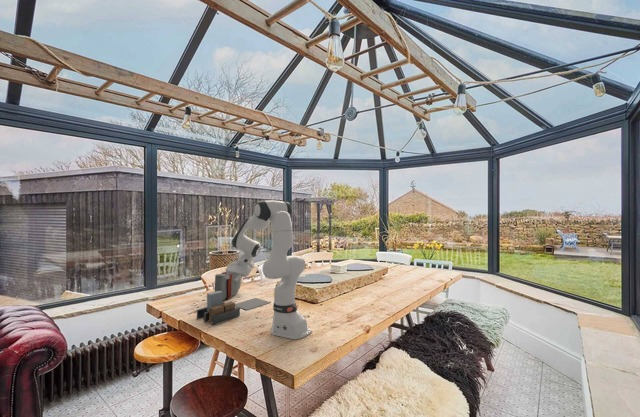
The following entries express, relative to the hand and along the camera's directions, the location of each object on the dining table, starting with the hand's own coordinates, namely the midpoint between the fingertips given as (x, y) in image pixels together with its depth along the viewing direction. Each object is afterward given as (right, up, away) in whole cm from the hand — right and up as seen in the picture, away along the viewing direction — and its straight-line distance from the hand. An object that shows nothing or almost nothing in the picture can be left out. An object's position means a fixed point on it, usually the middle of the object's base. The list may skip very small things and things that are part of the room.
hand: (230, 279), depth 187 cm
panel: (-7, -20, -9) cm, 23 cm away
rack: (-4, -20, -11) cm, 23 cm away
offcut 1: (-3, -20, -17) cm, 26 cm away
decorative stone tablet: (-10, -20, +28) cm, 36 cm away
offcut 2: (+2, -20, -11) cm, 23 cm away
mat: (+10, -20, +13) cm, 26 cm away
